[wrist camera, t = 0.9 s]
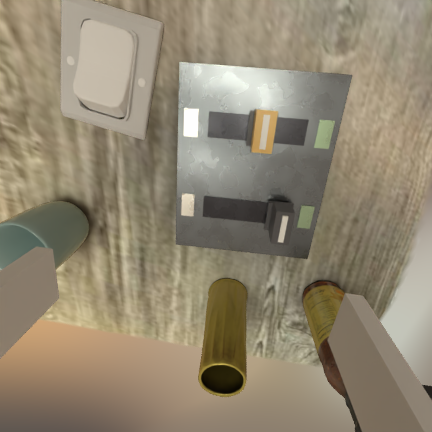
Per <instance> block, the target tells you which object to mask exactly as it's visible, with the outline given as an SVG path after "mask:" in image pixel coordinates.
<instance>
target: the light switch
mask: <svg viewBox="0 0 432 432" xmlns="http://www.w3.org/2000/svg"><path fill="white" fill-rule="evenodd" d="M163 29H164V24H163V23H162V22H161V21H157V20H154V19H151V18H148V17H145V16H142V15H138V14H135V13H132V12H129V11H126V10H122V9H119V8H116V7H113V6H110V5H107V4H103V3H100V2H97V1H94V0H61V112H62V115H63V116H66V117H69V118H72V119H75V120H79V121H82V122H85V123H89V124H92V125H95V126H99V127H102V128H105V129H108V130H112V131H115V132H118V133H122V134H125V135H128V136H132V137H135V138H138V139H141V140H144V139H145V138H146V132H147V126H148V120H149V114H150V108H151V102H152V96H153V91H154V85H155V79H156V73H157V67H158V61H159V55H160V49H161V43H162V36H163ZM83 104H84V105H85V106H87V107H88V108H89V109H91V110H89V109H87V108H86V107H85V106H84V105H83ZM93 110H94V111H93ZM96 111H98V112H96ZM99 112H101V113H99ZM103 113H104V114H103ZM106 114H108V115H106ZM109 115H111V116H109ZM112 116H114V117H112ZM116 117H117V118H116ZM120 117H125V118H124V119H119V118H120Z"/></svg>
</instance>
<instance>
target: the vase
mask: <svg viewBox="0 0 432 432" xmlns="http://www.w3.org/2000/svg"><path fill="white" fill-rule="evenodd" d="M208 296H209V298H208V303H207V311H206V322H205V331H204V340H203V348H202V356H201V362H200V369H199V376H198V380H199V383H200V385H201V387H202V388H203V389H204V390H206V391H207V392H209V393H211V394H213V395H216V396H221V397H229V396H233V395H236V394H238V393H240V392H241V391H242V390H243V389H244V387H245V384H246V301H247V296H248V295H247V291H246V288H245V287H244V286H243V285H242V284H241V283H240V282H238V281H236V280H233V279H221V280H218V281H216V282H214V283H213V284H212V285H211V287H210V289H209V292H208Z"/></svg>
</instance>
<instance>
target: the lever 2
mask: <svg viewBox="0 0 432 432" xmlns="http://www.w3.org/2000/svg"><path fill="white" fill-rule="evenodd" d="M293 208H294V204H293V203H287V202H277V201H268V205H267V211H266V217H265V224H264V230H268V233H269V237H270V242H271V244H278V245H288V246H289V241H290V236H291V231H292V227H293V222H294V217H295V212H294V210H293Z"/></svg>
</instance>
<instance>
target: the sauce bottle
mask: <svg viewBox="0 0 432 432" xmlns="http://www.w3.org/2000/svg"><path fill="white" fill-rule="evenodd" d="M344 295H345V293H344V292H343V291H342V290H341V289H340V288H339V287H338V286H337V285H336V284H334V283H332V282H325V281H320V282H316V283H314V284H312V285H310V286H308V287H307V288H306V289H305V291H304V294H303V307H304V310H305V313H306V317H307V320H308V324H309V327H310V330H311V333H312V336H313V340H314V343H315V346H316V349H317V353H318V356H319V359H320V361H321V363H322V365H323V368H324V373H325V375H326V377H327V380H328V382H329V383H330V384H331V386H332V387H333V388H334V389H335V390H336V391H337V392H338V393H339V394H340V395H342V396H343V397H344V398H345V400H346V405H347V407H348V408H349V409H350V413H351V415H352V418H353V421H354V424H355V432H362V430H361V428H360V425H359V422H358V420H357V417H356V414H355V412H354V409H353V406H352V404H351V401H350V398H349V396H348V393H347V390H346V388H345V385H344V382H343V380H342V377H341V374H340V372H339V369H338V366H337V364H336V361H335V358H334V356H333V353H332V350H331V348H330V345H329V343H328V338H329V335H330V332H331V330H332V327H333V324H334V322H335V319H336V316H337V314H338V311H339V308H340V306H341V303H342V300H343V298H344Z"/></svg>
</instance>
